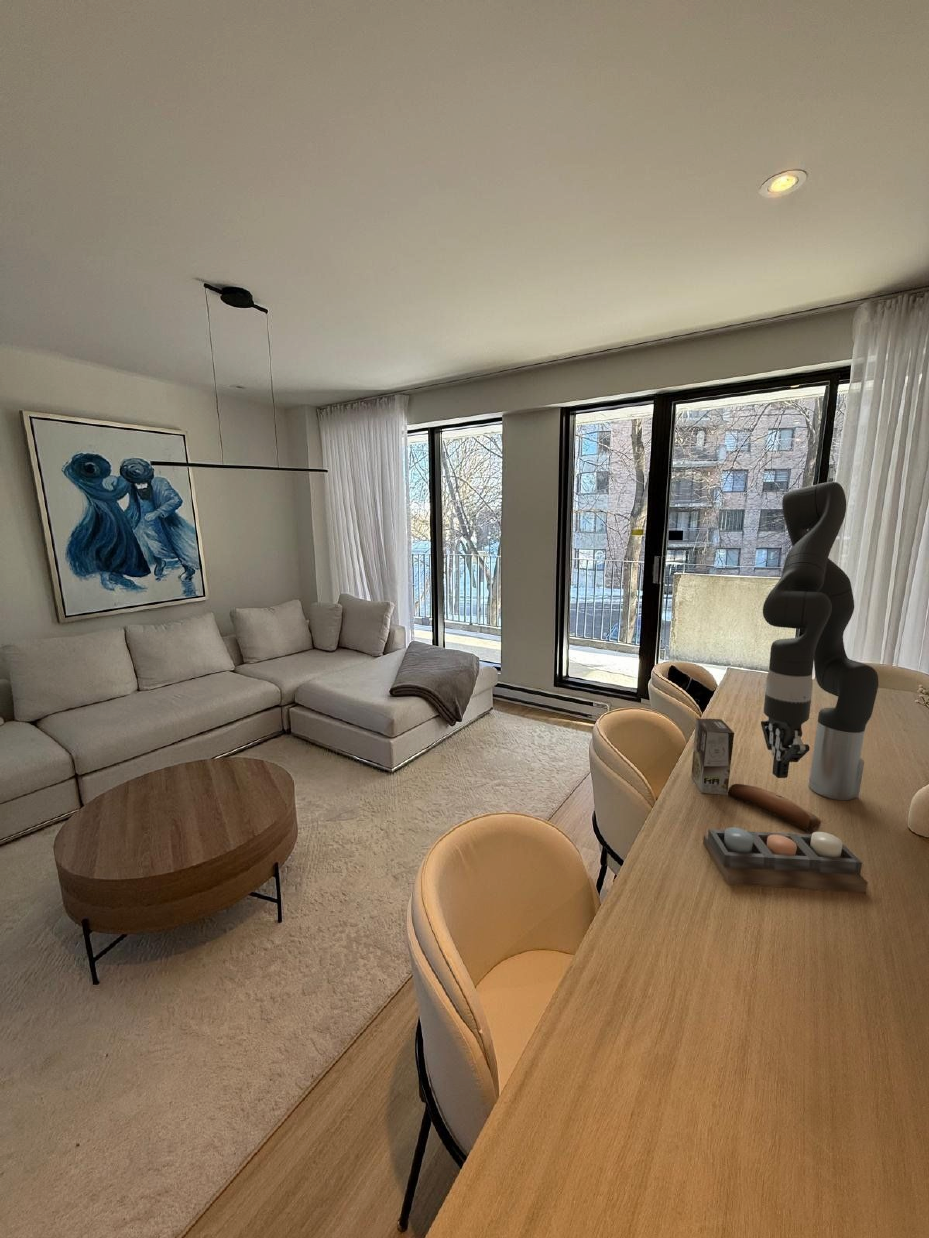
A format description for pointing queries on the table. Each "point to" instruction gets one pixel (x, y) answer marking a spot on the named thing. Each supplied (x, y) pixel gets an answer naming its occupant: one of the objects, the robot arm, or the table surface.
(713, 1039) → the table surface
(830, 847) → the cream button
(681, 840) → the table surface
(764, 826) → the table surface
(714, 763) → the coffee box
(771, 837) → the tan rounded oval piece
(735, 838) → the slate button
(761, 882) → the gray compartment tray
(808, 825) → the sunglasses case
